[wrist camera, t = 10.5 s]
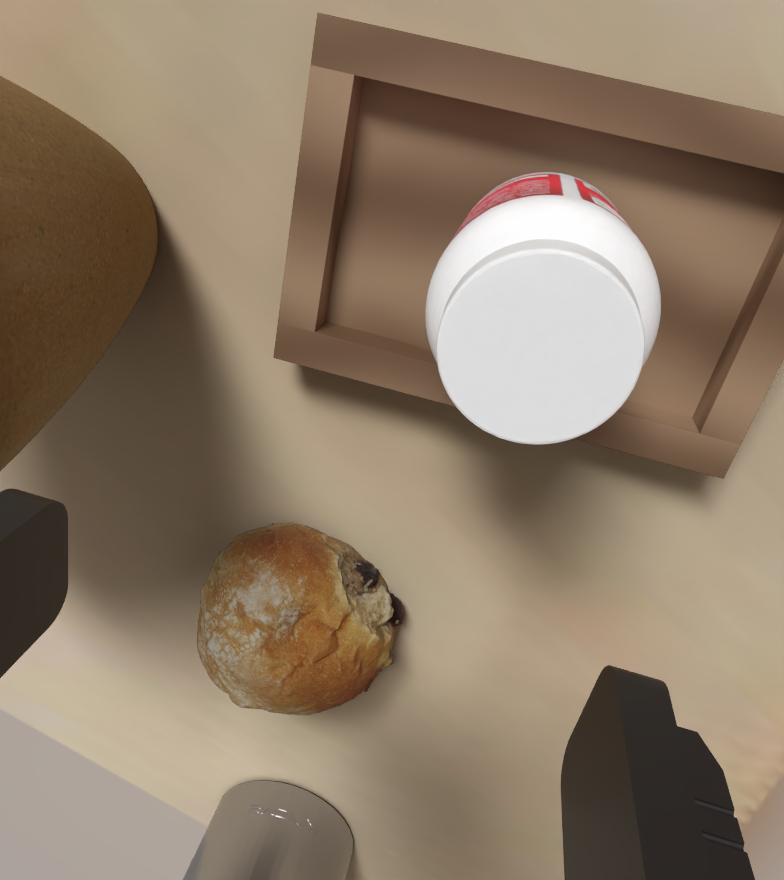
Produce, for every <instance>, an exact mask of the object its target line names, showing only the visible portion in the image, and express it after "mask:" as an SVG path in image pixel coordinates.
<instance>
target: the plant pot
mask: <svg viewBox="0 0 784 880" xmlns="http://www.w3.org/2000/svg"><path fill="white" fill-rule="evenodd" d="M157 248H158V228H157V220H156V214H155V210H154V206H153V203H152V200H151V198H150V196H149V193H148V191H147V189H146V187H145V185H144V183H143V181H142V179H141V178H140V176H139V174H138V173H137V172H136V170H135V169H134V167H133V166H132V165H131V164H130V162H129V161H128V160H127V159H126V158H125V157H124V156H123V155H122V154H121V153H120V152H119V151H118V150H117V149H116V148H114V147H113V146H112V145H111V144H110V143H108V142H107V141H106V140H104V139H103V138H102V137H100V136H99V135H98V134H96V133H95V132H93V131H92V130H90V129H89V128H87V127H86V126H84V125H83V124H82V123H80V122H79V121H77V120H76V119H74V118H72V117H71V116H69V115H68V114H66V113H64V112H63V111H61V110H60V109H58V108H56V107H55V106H53V105H52V104H50V103H48V102H47V101H45V100H43V99H41V98H39V97H38V96H36V95H34V94H32V93H31V92H29V91H27V90H25V89H24V88H22V87H20V86H18V85H16V84H14V83H13V82H11V81H9V80H7V79H5V78H3V77H1V76H0V471H1V470H2V469H3V468H4V467H5V466H6V465H7V464H8V463H9V462H10V461H11V460H12V459H13V458H14V457H15V456H16V455H17V454H18V453H19V452H20V451H21V450H22V449H23V448H24V447H25V446H26V445H27V444H28V443H29V442H30V441H31V439H32V438H33V437H34V436H35V435H36V434H37V433H38V432H39V431H40V430H41V429H42V428H43V427H44V426H45V424H46V423H47V422H48V421H49V420H50V419H51V418H52V417H53V416H54V414H55V413H56V412H57V411H58V410H59V409H60V408H61V407H62V405H63V404H64V403H65V402H66V401H67V400H68V399H69V397H70V396H71V395H72V394H73V393H74V391H75V390H76V389H77V388H78V387H79V386H80V384H81V383H82V382H83V380H84V379H85V378H86V377H87V375H88V374H89V373H90V371H91V370H92V369H93V367H94V366H95V365H96V364H97V362H98V361H99V359H100V358H101V357H102V355H103V354H104V353H105V351H106V350H107V348H108V347H109V346H110V344H111V343H112V341H113V340H114V338H115V337H116V335H117V334H118V332H119V331H120V329H121V328H122V326H123V324H124V323H125V321H126V319H127V318H128V316H129V314H130V313H131V311H132V309H133V307H134V306H135V304H136V302H137V300H138V298H139V296H140V295H141V293H142V291H143V289H144V286H145V284H146V282H147V280H148V278H149V275H150V273H151V270H152V268H153V265H154V262H155V258H156V253H157Z"/></svg>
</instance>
